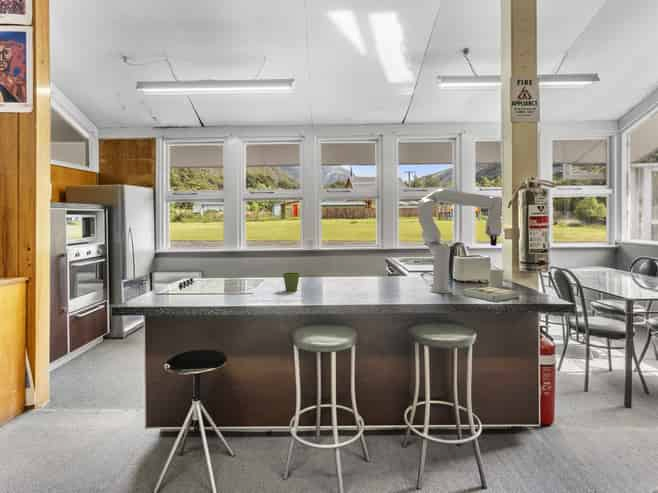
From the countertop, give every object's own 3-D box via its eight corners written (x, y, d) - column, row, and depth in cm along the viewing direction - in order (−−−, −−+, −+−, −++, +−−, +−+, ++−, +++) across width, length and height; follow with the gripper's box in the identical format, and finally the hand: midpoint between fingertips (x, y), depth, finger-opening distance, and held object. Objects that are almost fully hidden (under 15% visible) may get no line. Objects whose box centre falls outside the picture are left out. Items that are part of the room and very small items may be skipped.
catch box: (463, 295, 249) (463, 289, 249) (475, 293, 254) (475, 287, 254) (493, 301, 230) (493, 295, 230) (506, 299, 235) (506, 293, 235)
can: (493, 287, 273) (494, 269, 272) (485, 285, 282) (486, 267, 281) (506, 287, 275) (506, 269, 274) (497, 284, 284) (498, 267, 283)
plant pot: (302, 291, 262) (302, 274, 261) (284, 292, 259) (284, 275, 258) (298, 288, 273) (298, 271, 273) (280, 289, 270) (280, 272, 269)
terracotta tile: (492, 293, 239) (492, 297, 239) (486, 294, 236) (486, 298, 236) (499, 294, 234) (499, 299, 234) (494, 295, 232) (493, 300, 232)
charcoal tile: (474, 289, 250) (474, 293, 250) (468, 290, 247) (468, 294, 248) (480, 291, 245) (480, 295, 246) (475, 291, 243) (474, 296, 243)
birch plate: (477, 293, 253) (477, 288, 253) (489, 291, 259) (489, 287, 259) (505, 299, 236) (505, 294, 236) (517, 297, 241) (517, 292, 241)
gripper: (497, 216, 265) (496, 244, 266) (481, 216, 257) (480, 245, 259) (507, 216, 258) (506, 245, 260) (491, 216, 251) (490, 246, 252)
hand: (493, 245), depth 259 cm, fingers closed
